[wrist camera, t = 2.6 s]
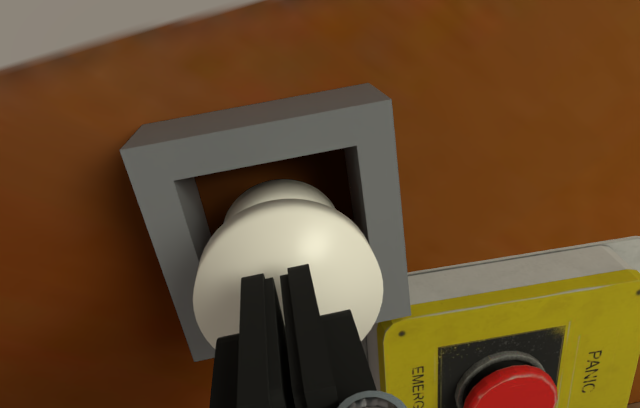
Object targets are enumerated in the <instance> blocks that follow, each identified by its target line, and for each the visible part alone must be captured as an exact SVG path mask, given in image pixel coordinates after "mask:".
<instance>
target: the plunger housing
mask: <svg viewBox="0 0 640 408" xmlns="http://www.w3.org/2000/svg"><path fill="white" fill-rule="evenodd" d="M341 148H344V153H345V160H346V168H347V175H348V182H349V189H350V196H351V203H352V210H353V217H354V223H355V224H356V225H357V226H358V228H359V229H360V230H361V232H362V233H363V234H364V236H365V238H366V239H367V241H368V243H369V245H370V247H371V249H372V251H373V253H374V256H375V258H376V260H377V262H378V265H379V267H380V270H381V274H382V279H383V299H382V304H381V308H380V312H379V314H378V317H377V319H376V321H375V323H378V322H383V321H388V320H392V319H397V318H402V317H406V316H411V307H410V296H409V285H408V274H407V263H406V252H405V241H404V230H403V219H402V208H401V198H400V187H399V176H398V165H397V154H396V143H395V132H394V121H393V110H392V99H390V98H389V97H388V96H386V95H385V94H383V93H382V92H381V91H379V90H378V89H376V88H375V87H374V86H372V85H371V84H369V83H366V84H361V85H355V86H350V87H344V88H339V89H334V90H328V91H323V92H317V93H312V94H306V95H301V96H296V97H290V98H285V99H279V100H274V101H269V102H263V103H258V104H252V105H247V106H241V107H236V108H231V109H225V110H220V111H214V112H209V113H204V114H198V115H193V116H187V117H182V118H177V119H171V120H166V121H160V122H155V123H149V124H144V125H142V126H141V127H140V128H139V129H138V130H137V131H136V133H135V134H134V135H133V136H132V137H131V138H130V139H129V140H128V141H127V142H126V144H125V145H124V146H123V147H122V148H121V149H120V153H121V156H122V159H123V161H124V164H125V167H126V170H127V173H128V176H129V178H130V181H131V184H132V187H133V190H134V193H135V195H136V198H137V201H138V204H139V207H140V210H141V212H142V215H143V218H144V221H145V224H146V227H147V229H148V232H149V235H150V238H151V241H152V244H153V246H154V249H155V252H156V255H157V258H158V260H159V263H160V266H161V269H162V272H163V275H164V277H165V280H166V283H167V286H168V289H169V292H170V294H171V297H172V300H173V303H174V306H175V309H176V311H177V314H178V317H179V320H180V323H181V326H182V328H183V331H184V334H185V337H186V340H187V343H188V345H189V348H190V351H191V354H192V357H193V360H194V362H196V361H201V360H205V359H210V358H215V349H214V348H213V347H212V346H211V344H210V343H209V342H208V341H207V340H206V338H205V337H204V335H203V334H202V332H201V330H200V328H199V326H198V323H197V321H196V317H195V313H194V307H193V291H194V285H195V280H196V275H197V271H198V266H199V262H200V258H201V255H202V253H203V250H204V248H205V246H206V245H207V243H208V241H209V240H210V238H211V233H210V230H209V226H208V223H207V219H206V216H205V213H204V209H203V206H202V202H201V199H200V195H199V192H198V188H197V185H196V182H195V178H194V177H195V176H201V175H206V174H211V173H216V172H221V171H227V170H232V169H237V168H242V167H247V166H253V165H258V164H263V163H268V162H274V161H279V160H284V159H289V158H294V157H300V156H305V155H310V154H315V153H320V152H326V151H331V150H336V149H341Z"/></svg>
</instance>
